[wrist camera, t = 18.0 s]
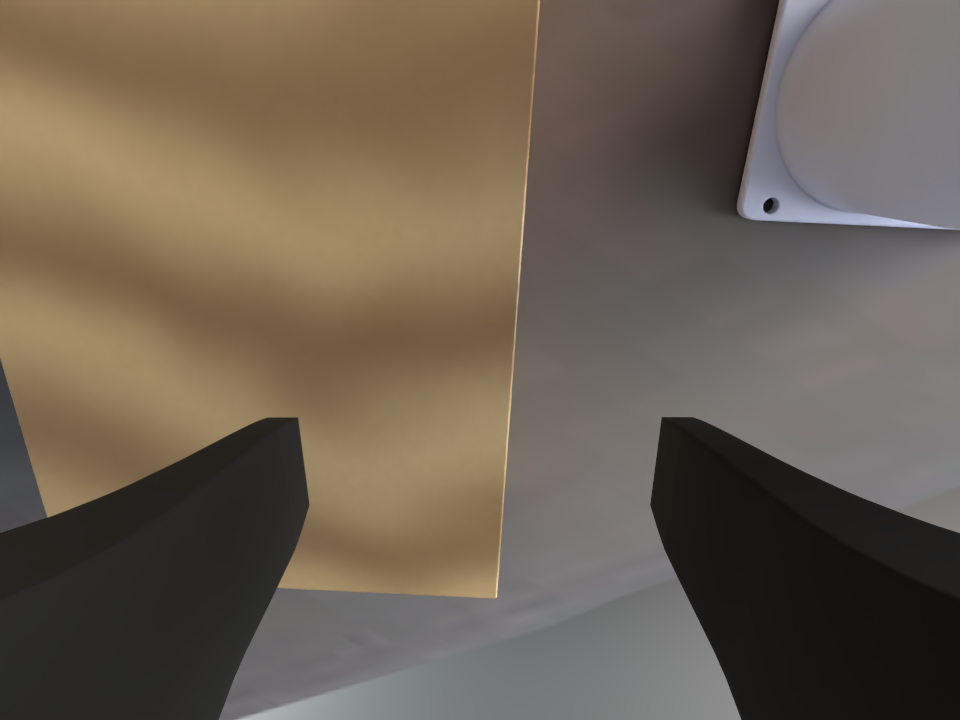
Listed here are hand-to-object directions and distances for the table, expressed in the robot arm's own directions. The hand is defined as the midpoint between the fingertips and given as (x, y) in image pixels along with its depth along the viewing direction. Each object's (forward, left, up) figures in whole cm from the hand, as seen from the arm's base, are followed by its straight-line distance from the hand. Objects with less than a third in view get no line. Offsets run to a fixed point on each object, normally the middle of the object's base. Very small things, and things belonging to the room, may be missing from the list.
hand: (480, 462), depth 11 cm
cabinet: (+6, -2, -10) cm, 12 cm away
